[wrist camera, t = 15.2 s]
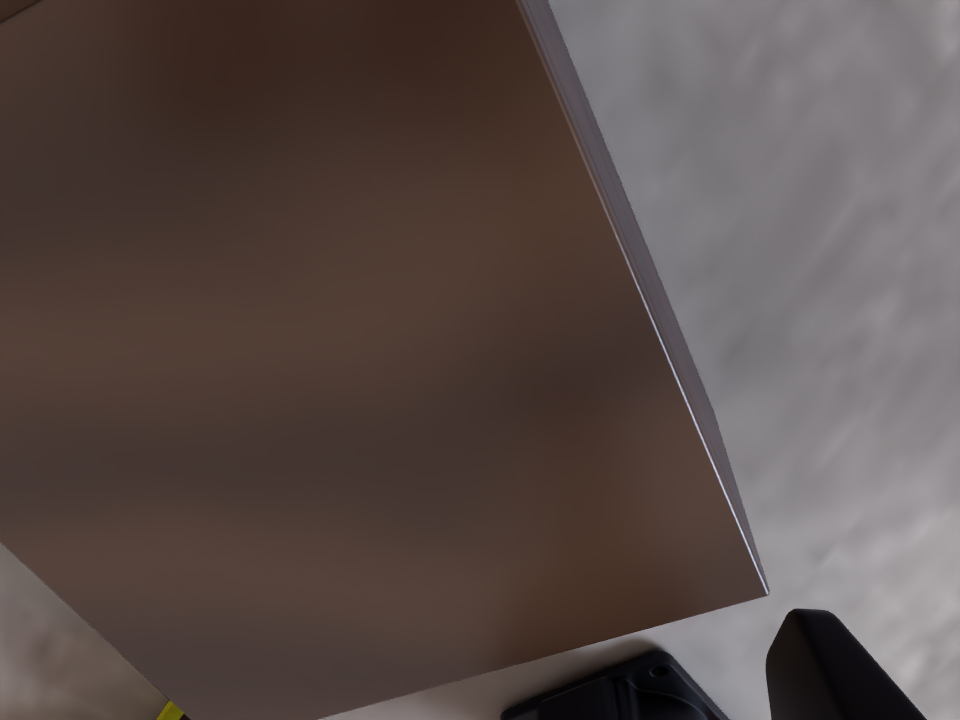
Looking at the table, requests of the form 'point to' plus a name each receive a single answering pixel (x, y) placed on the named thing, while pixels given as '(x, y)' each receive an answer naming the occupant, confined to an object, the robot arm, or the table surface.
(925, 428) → the table surface
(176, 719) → the opera glasses
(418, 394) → the organiser
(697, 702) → the robot arm
